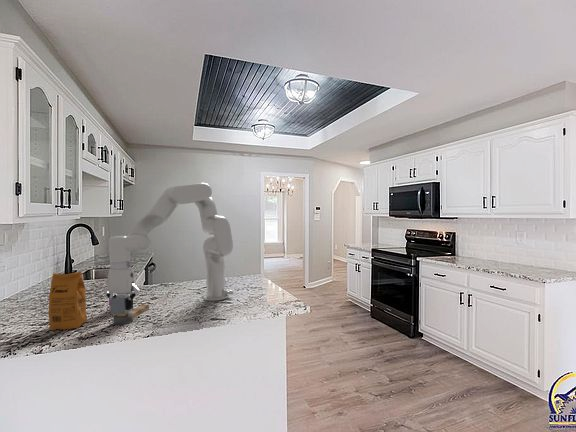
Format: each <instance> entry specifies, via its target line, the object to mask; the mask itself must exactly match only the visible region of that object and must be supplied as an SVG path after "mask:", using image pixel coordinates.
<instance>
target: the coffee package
mask: <svg viewBox="0 0 576 432" xmlns="http://www.w3.org/2000/svg"><path fill="white" fill-rule="evenodd" d="M85 286H86V285H85V281H84V279H83V273H82V272H81V271H77V272H71V273H67V274H66V273H63V274H62V273H55V272H54V273H53V275H52V279H51V282H50V289H49V295H48V323H49V331H50V330H52V331H57V330H61V331H66V330H65V329H68V330H73V328H74V329H78V328H80V327H81V326H82V325H83V324H84V323H86V322H87V321H88V317H87V309H86V306H87V302H86V301H87V298H86V294H87V293H86V291H87V289H86V287H85ZM56 329H57V330H56ZM62 329H63V330H62Z"/></svg>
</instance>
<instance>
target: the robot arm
mask: <svg viewBox="0 0 576 432" xmlns="http://www.w3.org/2000/svg"><path fill="white" fill-rule="evenodd" d="M212 189H213V188H212V187H211V186H210V185H209V184H208V183H205V182H198V183H191V184H183V185H174V186H169V187H167V188H166V189H165V190H164V191H163V192H162V194H161V195H160V196H159V198H158V199H157V200H156V201H155V203H154V205H153V206H152V207H151V208H150V209H149V211H148V212H146V214H145V215H143V216H142V217H141V218H140V219H139V220H138V221H137V223H135V224H134V226H133V227H132V228H131V230H130V231H129V232H128V234H127V235H116V236H111V237H110V238H109V239H108V248H109V250H108V251H109V270H108V274H107V280H106V281H107V282H106V284H107V286H106V287H104V289H103V290H102V292H103V293H104V295H106V297H107V298H108V301H109V300H110V299H111V298H113V297H116V296H117V294H126V296H127V298H128V300H127V310H130V309H132V308H133V309H134V299H135V297H136V296H137V295H138V294H139V292H140V291H141V289H140V288H139V287H138V286H137V283H136V281H137V280H136V275H135V271H134V269H133V266H134V263H133V262H131V253H143V252H146V251H148V250H149V249H150V248H151V246H152V240H151V238H150V237H149V234H151V232H153V231H154V230H155V229H156V228H158V227H160V226H162V225H164V224H165V223H166V222H167V221H168V219H169V218H170V217H171V216H172V214H173V213H174V211H176V209H177V207H178V206H179V205H185V204H186V205H187V204H192V203H194V204H195V205H196V206H197V208H198V213H199V216H200V217H199V218H200V222H201V227H202V231H203V232H204V234H207V235H213V236H209V237H207V238H206V239H205V240H204V241H203V244H202V250H203V254H204V261H205V262H204V263H205V279H206V282H205V283H206V294H204V295H203V299H204V300H205V301H209V302H217V301H222V300H225V299H228V298H229V296H230V295H234V294H235V293H234V292H235V291H234V290H233V289H228V287H226V271H225V269H226V268H225V267H226V264H225V258H224V257H228V256H230V255H231V253H232V252H233V249H234V242H233V236H232V230H231V224H230V222H229V220H228V219H227V218H226V217H225V216H223V215H219V214H218V211H217V205H216V203H215V201H214V199H213V198H212V193H213V191H212ZM133 309H132V310H133ZM130 311H131V310H130Z"/></svg>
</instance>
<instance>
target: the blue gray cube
mask: <svg viewBox="0 0 576 432" xmlns="http://www.w3.org/2000/svg"><path fill="white" fill-rule="evenodd" d="M127 300H128V298H127V296H126V295H118V296H116V297H113V298H111V299H110V306H111V311H110V314H111V315H113V314H114V315H116V314H125V313H127V312H129V311H131V310H133V309H134V307H133V308H132V309H130V310H127Z"/></svg>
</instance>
